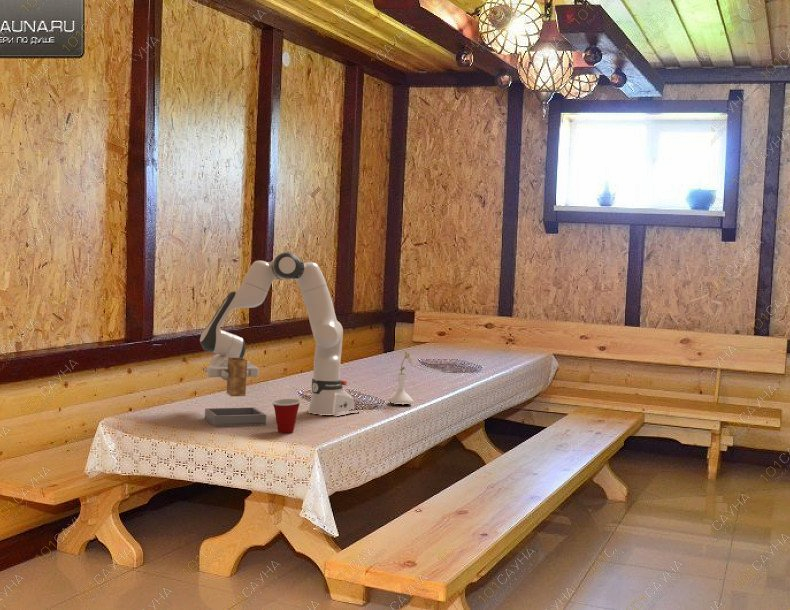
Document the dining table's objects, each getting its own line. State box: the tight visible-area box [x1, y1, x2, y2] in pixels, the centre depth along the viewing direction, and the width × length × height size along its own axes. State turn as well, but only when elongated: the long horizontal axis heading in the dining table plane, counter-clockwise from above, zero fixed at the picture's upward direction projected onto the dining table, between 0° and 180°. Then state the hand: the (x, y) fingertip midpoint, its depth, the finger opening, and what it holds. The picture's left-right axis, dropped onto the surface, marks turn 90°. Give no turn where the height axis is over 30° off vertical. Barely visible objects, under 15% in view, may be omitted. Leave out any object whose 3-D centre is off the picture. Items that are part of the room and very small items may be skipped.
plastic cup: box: [271, 398, 301, 434], centre depth 390 cm, size 11×11×12 cm
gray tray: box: [204, 406, 267, 428], centre depth 405 cm, size 20×16×4 cm
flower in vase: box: [387, 347, 414, 403], centre depth 462 cm, size 13×11×25 cm
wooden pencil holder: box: [226, 357, 248, 397], centre depth 404 cm, size 6×7×14 cm
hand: (237, 374), depth 403 cm, fingers closed on wooden pencil holder, 6 cm apart
